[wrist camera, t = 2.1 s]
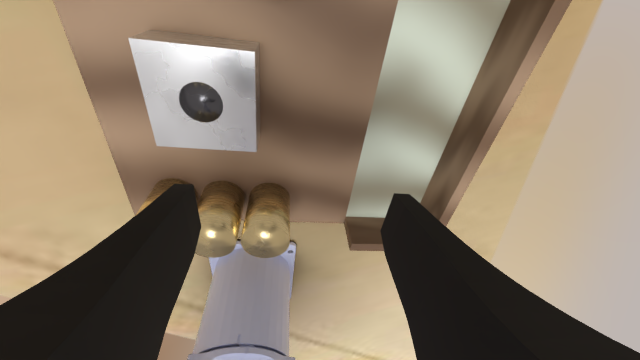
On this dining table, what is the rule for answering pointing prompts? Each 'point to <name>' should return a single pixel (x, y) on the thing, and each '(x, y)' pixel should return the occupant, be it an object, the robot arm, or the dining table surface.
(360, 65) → the tray
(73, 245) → the dining table surface
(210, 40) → the square block with knob
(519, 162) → the dining table surface
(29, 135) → the dining table surface
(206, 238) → the spacers
